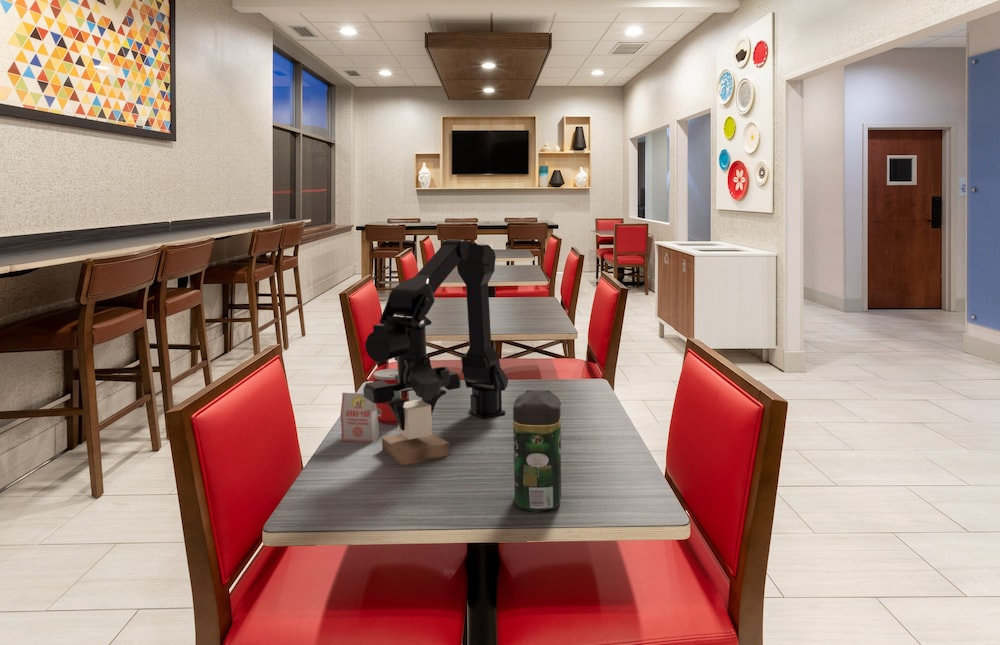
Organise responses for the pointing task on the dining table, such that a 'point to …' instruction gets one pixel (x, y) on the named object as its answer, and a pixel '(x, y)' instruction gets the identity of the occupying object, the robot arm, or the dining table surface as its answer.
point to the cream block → (416, 419)
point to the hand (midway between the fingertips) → (414, 427)
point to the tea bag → (358, 418)
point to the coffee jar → (537, 450)
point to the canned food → (383, 408)
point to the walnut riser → (415, 448)
